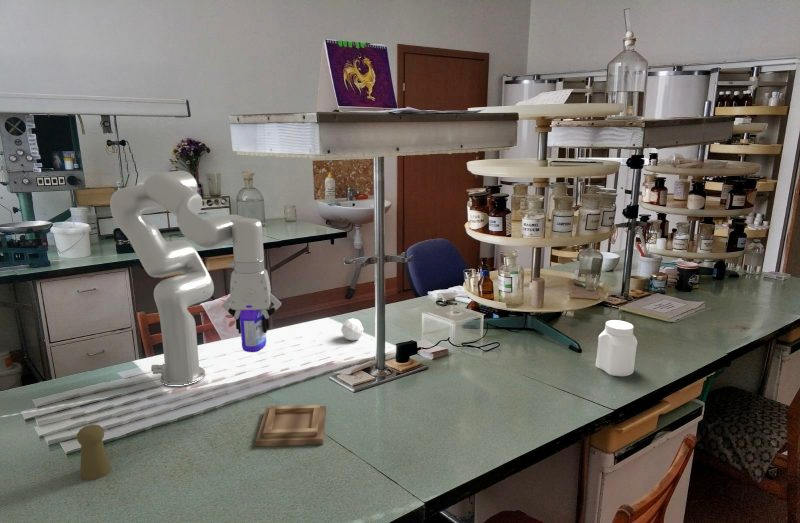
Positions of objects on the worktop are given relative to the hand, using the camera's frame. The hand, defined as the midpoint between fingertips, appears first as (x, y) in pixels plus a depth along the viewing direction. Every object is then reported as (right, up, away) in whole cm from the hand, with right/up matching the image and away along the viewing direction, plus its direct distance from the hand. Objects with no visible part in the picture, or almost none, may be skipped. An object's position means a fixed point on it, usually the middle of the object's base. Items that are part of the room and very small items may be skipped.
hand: (253, 330), depth 152 cm
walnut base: (+12, -24, -6) cm, 28 cm away
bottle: (0, -5, +1) cm, 5 cm away
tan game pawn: (-29, -29, -25) cm, 48 cm away
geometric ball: (+22, -9, +51) cm, 56 cm away
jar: (+108, -16, +31) cm, 114 cm away
